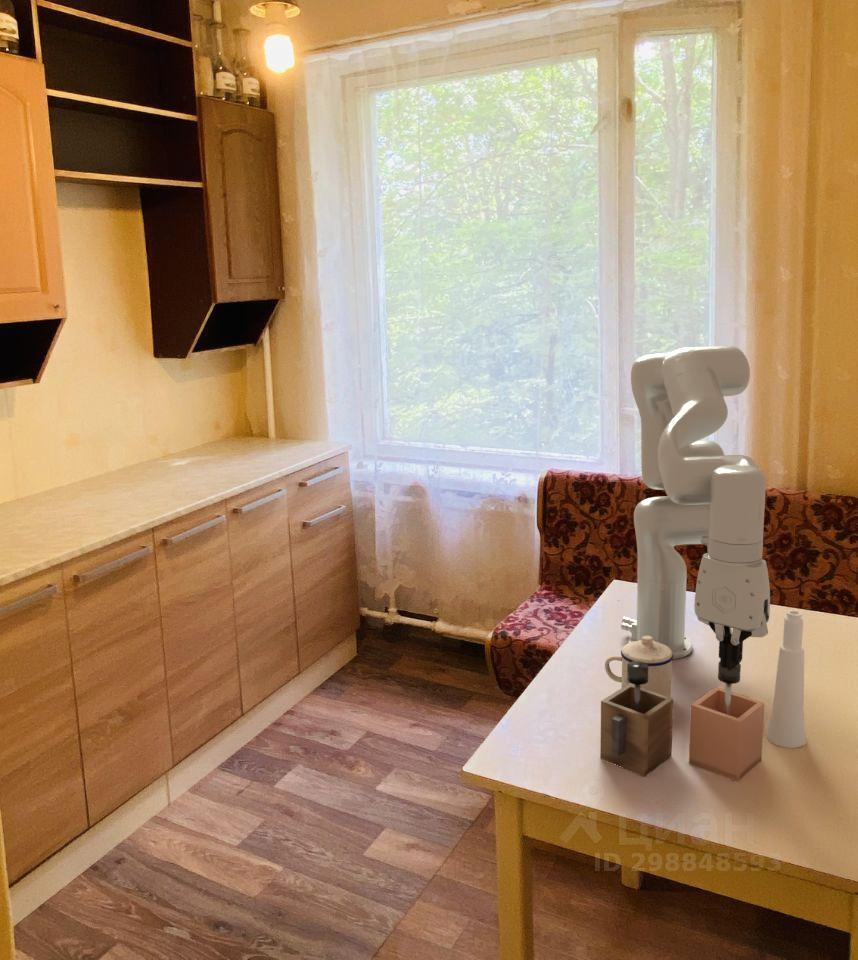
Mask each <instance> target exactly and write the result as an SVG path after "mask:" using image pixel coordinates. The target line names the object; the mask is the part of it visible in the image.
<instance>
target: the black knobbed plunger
mask: <svg viewBox="0 0 858 960" xmlns="http://www.w3.org/2000/svg"><path fill="white" fill-rule="evenodd" d="M741 668H742V666H741V662H740V663H739V664H738V665H736V666H735V667H733V668H732V669H728V668H727V667H722V666H720V661H718V670H717V671H718V672H717V679H718V681H720V682H722V683H725V689H724V690H725V708H724V714H727V715H730V712H731V692H733V690H732V689H733V687H732V686H733V684H734V685H735V684H738V683H740V681H741Z"/></svg>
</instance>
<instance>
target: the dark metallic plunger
mask: <svg viewBox="0 0 858 960" xmlns="http://www.w3.org/2000/svg"><path fill="white" fill-rule="evenodd" d="M648 670H649V666H648V664H646V663H644V662H640V661H633V662H630V663H628V664H627V681H628V682H630V683H632V684H635V688H634V711H637V712H640V685H642V684H646V683H647V682H648Z"/></svg>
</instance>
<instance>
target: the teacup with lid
mask: <svg viewBox="0 0 858 960" xmlns="http://www.w3.org/2000/svg"><path fill="white" fill-rule="evenodd" d="M673 660H674V659H673V653H672V651H671V649H670V648H669V647H667V646H666V645H664V644H662V643H658V642H655V641H653V638H652V637H651V636H643V637H642V638H641V640H639V641H633V642H630V643H628V642H627V643H626V644H625V645H624V646H623V647H622V648H621V650H620V654H618V655H617V654H614V655H610V656H608V657H607V658H606V659H605V663H604V671H605V673H606V674H607V676H608V677H609V678H610V679H611V680H612V681H615V683H616V682H617V683H621V688H623V687H624V686H626V685H628V684H632V683H630V682H628V681H627V664H628V663H630V662H633V661H640V662H644V663H646V664H648V666H649V670H648V682H647V683H646V684H642V685H640V687H641V688H644V689H647V690H650V691H652V692H655V693H658V694H661V695H664V696H667V697H670V698H672V696H671V691H672V690H671V689H672V665H673V664H672V661H673ZM613 661H618V662H621V676H618V675H616V674H614V673H613V672H612V670H611V668H610V662H613ZM632 685H635V684H632Z"/></svg>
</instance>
